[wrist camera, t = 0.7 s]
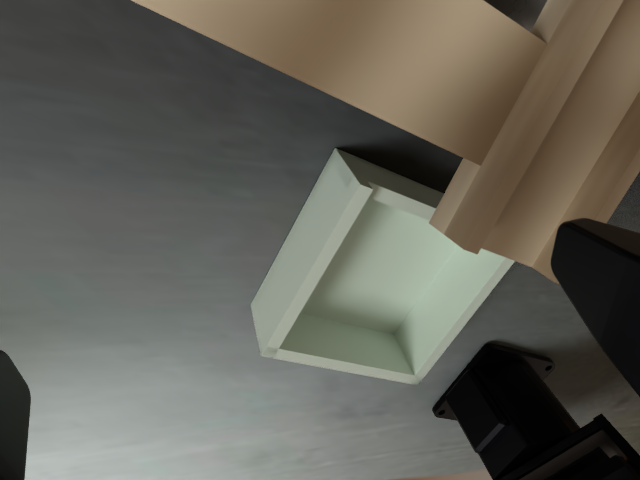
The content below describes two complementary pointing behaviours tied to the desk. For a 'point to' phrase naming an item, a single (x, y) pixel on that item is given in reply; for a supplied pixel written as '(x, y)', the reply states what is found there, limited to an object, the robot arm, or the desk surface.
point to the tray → (370, 278)
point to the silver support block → (520, 10)
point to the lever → (470, 97)
